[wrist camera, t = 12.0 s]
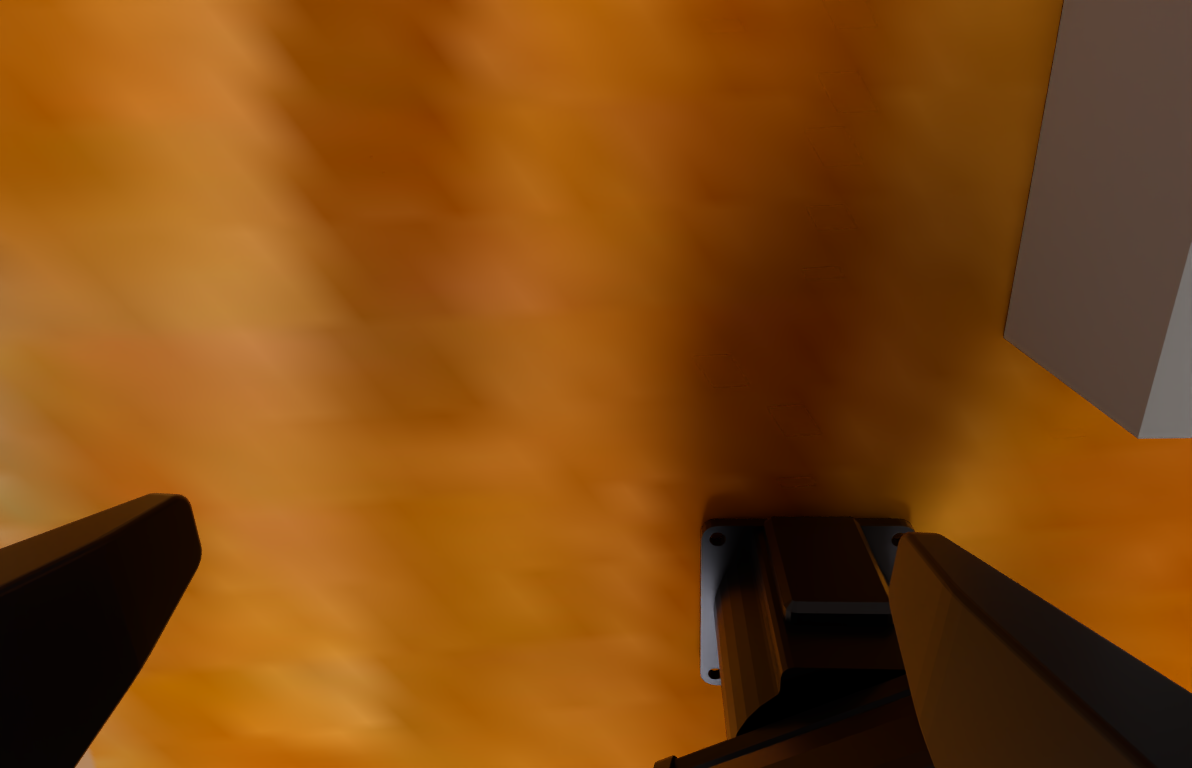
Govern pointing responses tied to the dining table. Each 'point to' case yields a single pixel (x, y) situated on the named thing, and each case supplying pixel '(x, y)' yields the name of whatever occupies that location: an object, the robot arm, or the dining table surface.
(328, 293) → the dining table surface
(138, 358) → the dining table surface
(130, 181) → the dining table surface
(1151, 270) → the box
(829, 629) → the robot arm
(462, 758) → the dining table surface
